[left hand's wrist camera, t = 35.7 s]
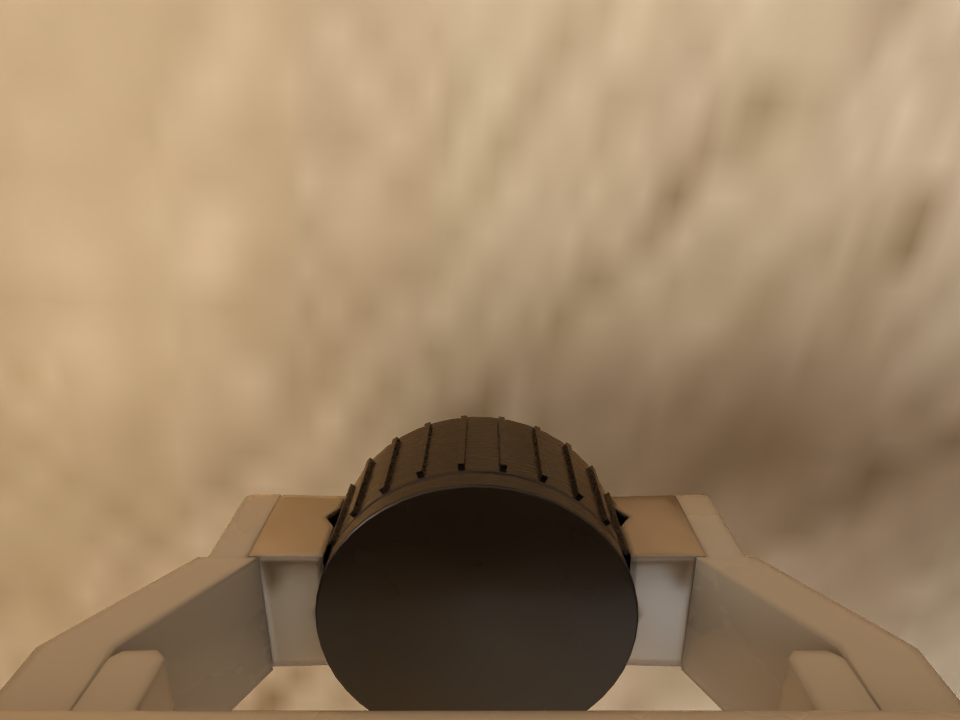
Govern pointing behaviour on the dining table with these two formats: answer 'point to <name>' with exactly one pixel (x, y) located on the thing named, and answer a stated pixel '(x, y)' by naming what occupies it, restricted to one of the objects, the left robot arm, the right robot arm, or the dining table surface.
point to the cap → (477, 575)
